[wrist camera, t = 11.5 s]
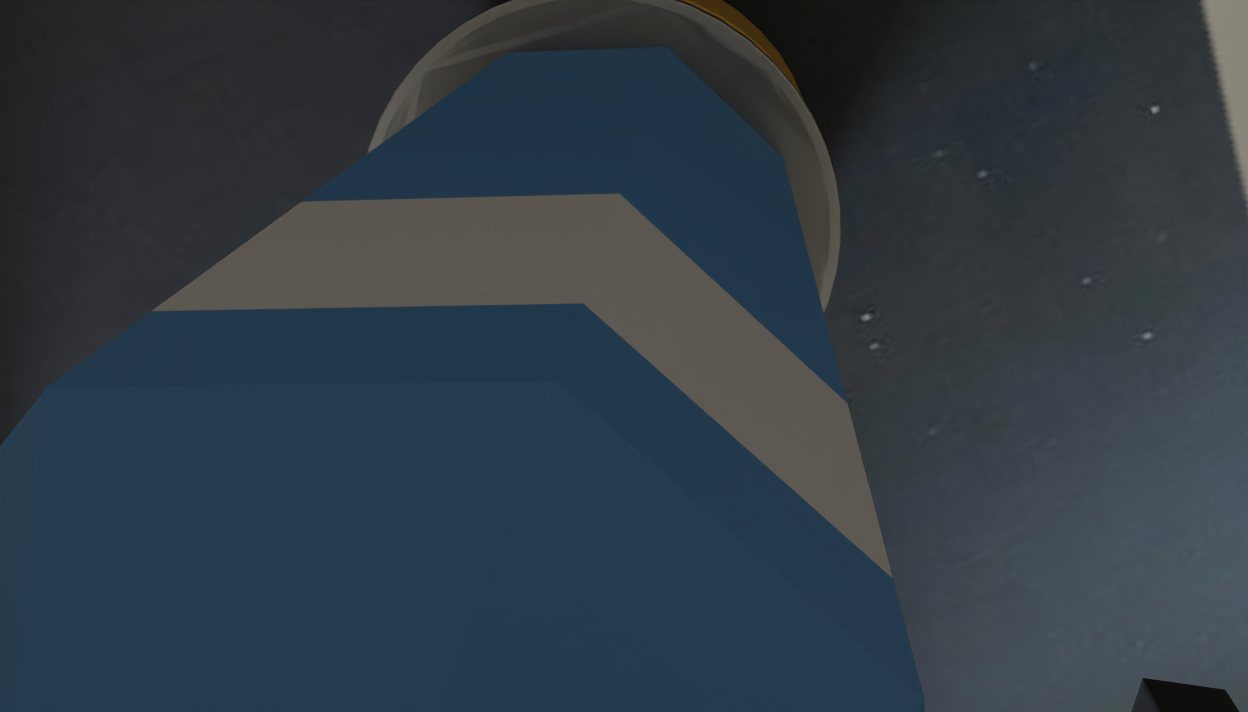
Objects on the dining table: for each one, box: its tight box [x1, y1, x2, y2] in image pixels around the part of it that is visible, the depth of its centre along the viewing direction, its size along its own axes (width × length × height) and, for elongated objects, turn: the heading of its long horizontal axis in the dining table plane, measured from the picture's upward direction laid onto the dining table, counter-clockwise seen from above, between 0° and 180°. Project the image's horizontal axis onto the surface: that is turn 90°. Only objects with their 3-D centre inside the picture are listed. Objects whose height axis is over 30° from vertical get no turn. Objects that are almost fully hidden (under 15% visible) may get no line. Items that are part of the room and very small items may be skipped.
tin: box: [367, 0, 841, 312], centre depth 32 cm, size 11×11×9 cm
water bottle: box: [0, 47, 924, 712], centre depth 16 cm, size 9×9×25 cm
